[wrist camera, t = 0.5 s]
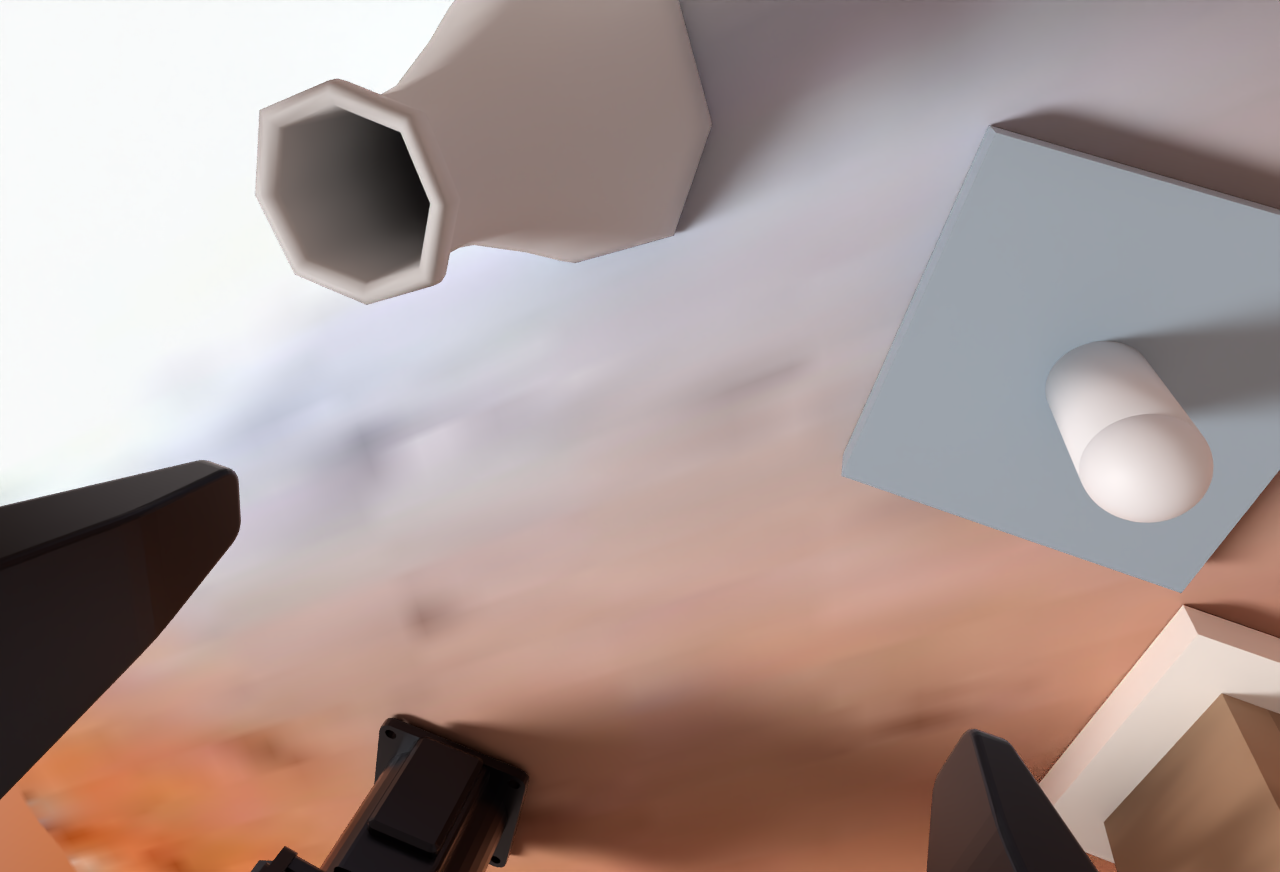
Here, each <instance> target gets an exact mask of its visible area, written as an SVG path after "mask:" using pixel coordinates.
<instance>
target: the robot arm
mask: <svg viewBox="0 0 1280 872" xmlns="http://www.w3.org/2000/svg"><path fill="white" fill-rule="evenodd" d="M240 524H241V516H240V498H239V481H238V477H237V475H236V473H235V471H233V470H232V469H230V468H227V467H225V466H222V465H219V464H216V463H213V462H210V461H206V460H199V461H194V462H190V463H185V464H181V465H177V466H172V467H168V468H164V469H159V470H155V471H151V472H146V473H142V474H138V475H134V476H129V477H125V478H121V479H116V480H112V481H108V482H103V483H99V484H95V485H90V486H86V487H82V488H78V489H73V490H69V491H65V492H60V493H56V494H52V495H47V496H43V497H39V498H34V499H30V500H26V501H22V502H17V503H13V504H9V505H4V506H0V799H1V798H2V797H3V796H4V795H5V794H6V793H7V792H8V791H9V790H10V789H11V788H12V787H13V786H14V785H15V784H16V783H17V782H18V781H19V780H20V779H21V778H22V777H23V776H24V775H25V774H26V773H27V772H28V771H29V770H30V769H31V767H32V766H33V765H34V764H35V763H36V762H37V761H38V760H39V759H40V758H41V757H42V756H43V755H44V754H45V753H46V752H47V751H48V750H49V749H50V748H51V747H52V746H53V745H54V744H55V743H56V742H57V741H58V740H59V739H60V738H61V737H62V736H63V735H64V733H65V732H66V731H67V730H68V729H69V728H70V727H71V726H72V725H73V724H74V723H75V722H76V721H77V720H78V719H79V718H80V717H81V716H82V715H83V714H84V713H85V712H86V711H87V710H88V709H89V708H90V707H91V706H92V705H93V704H94V703H95V702H96V701H97V700H98V698H99V697H100V696H101V695H102V694H103V693H104V692H105V691H106V690H107V689H108V688H109V687H110V686H111V685H112V684H113V683H114V682H115V681H116V680H117V679H118V678H119V677H120V676H121V675H122V674H123V673H124V672H125V671H126V670H127V669H128V668H129V667H130V666H131V665H132V663H133V662H134V661H135V660H136V659H137V658H138V657H139V656H140V655H141V654H142V653H143V652H144V651H145V650H146V649H147V648H148V647H149V646H150V644H151V643H152V642H153V641H154V640H155V639H156V638H157V637H158V636H159V634H160V633H161V632H162V631H163V630H164V629H165V627H166V626H167V625H168V624H169V623H170V621H171V620H172V619H173V618H174V616H175V615H176V614H177V613H178V611H179V610H180V609H181V608H182V606H183V605H184V604H185V603H186V601H187V600H188V599H189V597H190V596H191V595H192V594H193V592H194V591H195V590H196V589H197V587H198V586H199V585H200V584H201V582H202V581H203V580H204V579H205V577H206V576H207V575H208V574H209V572H210V571H211V570H212V569H213V567H214V566H215V565H216V564H217V562H218V561H219V560H220V558H221V557H222V556H223V555H224V553H225V552H226V551H227V550H228V548H229V547H230V546H231V545H232V543H233V542H234V540H235V539H236V537H237V535H238V532H239V529H240ZM528 783H529V777H528V775H527V774H526V773H525V772H524V771H523V770H521V769H519V768H516V767H514V766H511V765H509V764H507V763H504V762H502V761H499V760H497V759H494V758H492V757H489V756H487V755H484V754H482V753H479V752H477V751H474V750H472V749H469V748H467V747H464V746H462V745H459V744H457V743H455V742H452V741H450V740H447V739H445V738H442V737H440V736H437V735H435V734H432V733H430V732H427V731H425V730H422V729H420V728H417V727H415V726H412V725H410V724H407V723H405V722H403V721H400V720H398V719H394V718H388V719H386V720H385V722H384V723H383V725H382V726H381V728H380V731H379V742H378V752H377V762H376V772H375V783H374V786H373V787H372V789H371V790H370V792H369V794H368V795H367V797H366V798H365V800H364V801H363V803H362V804H361V806H360V807H359V809H358V810H357V812H356V813H355V815H354V817H353V818H352V820H351V821H350V823H349V824H348V826H347V827H346V829H345V830H344V832H343V833H342V835H341V836H340V838H339V840H338V841H337V843H336V844H335V846H334V847H333V849H332V850H331V852H330V853H329V855H328V856H327V858H326V859H325V861H324V863H323V864H322V866H321V867H320V869H319V868H317V867H316V866H314V865H312V864H310V863H309V862H307V861H305V860H303V859H302V858H300V857H298V856H297V854H298V853H297V852H295V851H293V850H291V849H290V848H288V847H286V846H285V847H284V848H283V849H282V850H281V851H280V853H279V854H278V855H277V857H276V858H275V859H274V860H273V861H263V860H259V861H258V863H257V864H256V865H255V867H254V868H253V870H252V871H251V872H485V871H486V868H487V866H488V864H490V865H492V866H495V867H504V866H505V864H506V862H507V860H508V858H509V855H510V851H511V848H512V844H513V840H514V836H515V832H516V829H517V825H518V821H519V817H520V813H521V810H522V806H523V802H524V798H525V794H526V790H527V787H528ZM927 872H1098V870H1097V869H1096V867H1095V866H1094V864H1093V863H1092V861H1091V860H1090V859H1089V857H1088V856H1087V854H1086V853H1085V851H1084V850H1083V848H1082V847H1081V845H1080V844H1079V843H1078V841H1077V840H1076V838H1075V837H1074V835H1073V834H1072V832H1071V831H1070V829H1069V828H1068V826H1067V825H1066V824H1065V822H1064V821H1063V819H1062V818H1061V816H1060V815H1059V813H1058V812H1057V810H1056V809H1055V807H1054V806H1053V805H1052V803H1051V802H1050V800H1049V799H1048V797H1047V796H1046V794H1045V793H1044V791H1043V790H1042V789H1041V787H1040V786H1039V784H1038V783H1037V781H1036V780H1035V778H1034V777H1033V775H1032V774H1031V772H1030V771H1029V770H1028V768H1027V767H1026V765H1025V764H1024V762H1023V761H1022V759H1021V758H1020V756H1019V755H1018V753H1017V752H1016V751H1015V749H1014V748H1013V746H1012V745H1011V744H1010V743H1009V742H1008V741H1006V740H1005V739H1003V738H1000V737H997V736H994V735H992V734H989V733H986V732H983V731H980V730H977V729H970V730H967V731H966V732H965V733H964V734H963V735H962V737H961V738H960V740H959V741H958V743H957V744H956V746H955V748H954V749H953V751H952V752H951V754H950V756H949V757H948V759H947V760H946V762H945V764H944V765H943V767H942V768H941V770H940V772H939V773H938V775H937V778H936V781H935V784H934V788H933V794H932V806H931V820H930V833H929V847H928V860H927Z"/></svg>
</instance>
